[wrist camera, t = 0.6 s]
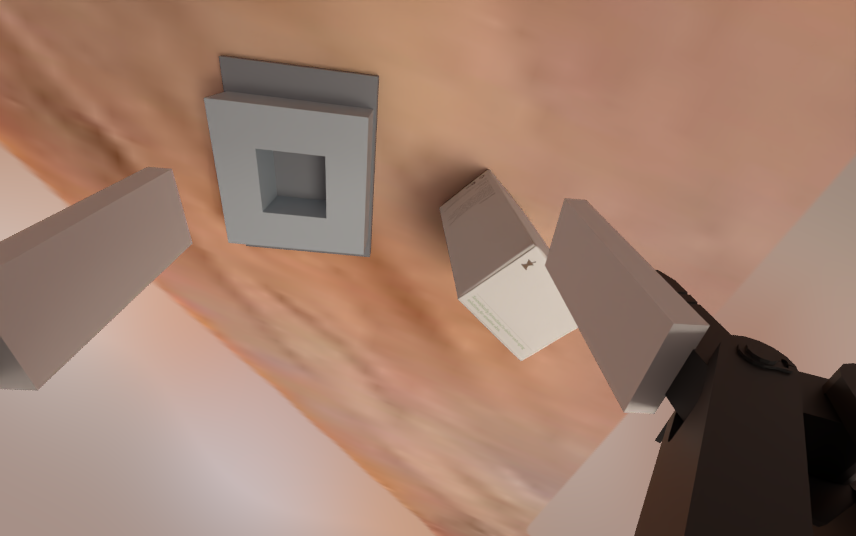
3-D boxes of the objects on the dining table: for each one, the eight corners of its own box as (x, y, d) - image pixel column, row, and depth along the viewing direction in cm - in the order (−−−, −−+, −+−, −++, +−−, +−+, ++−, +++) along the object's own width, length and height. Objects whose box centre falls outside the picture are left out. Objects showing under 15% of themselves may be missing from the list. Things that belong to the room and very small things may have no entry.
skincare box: (437, 206, 38) (449, 297, 25) (492, 163, 36) (536, 238, 23) (485, 260, 41) (518, 366, 28) (537, 225, 39) (599, 321, 26)
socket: (224, 55, 31) (193, 58, 26) (379, 75, 32) (373, 81, 28) (250, 241, 39) (229, 266, 35) (370, 252, 41) (365, 277, 36)
